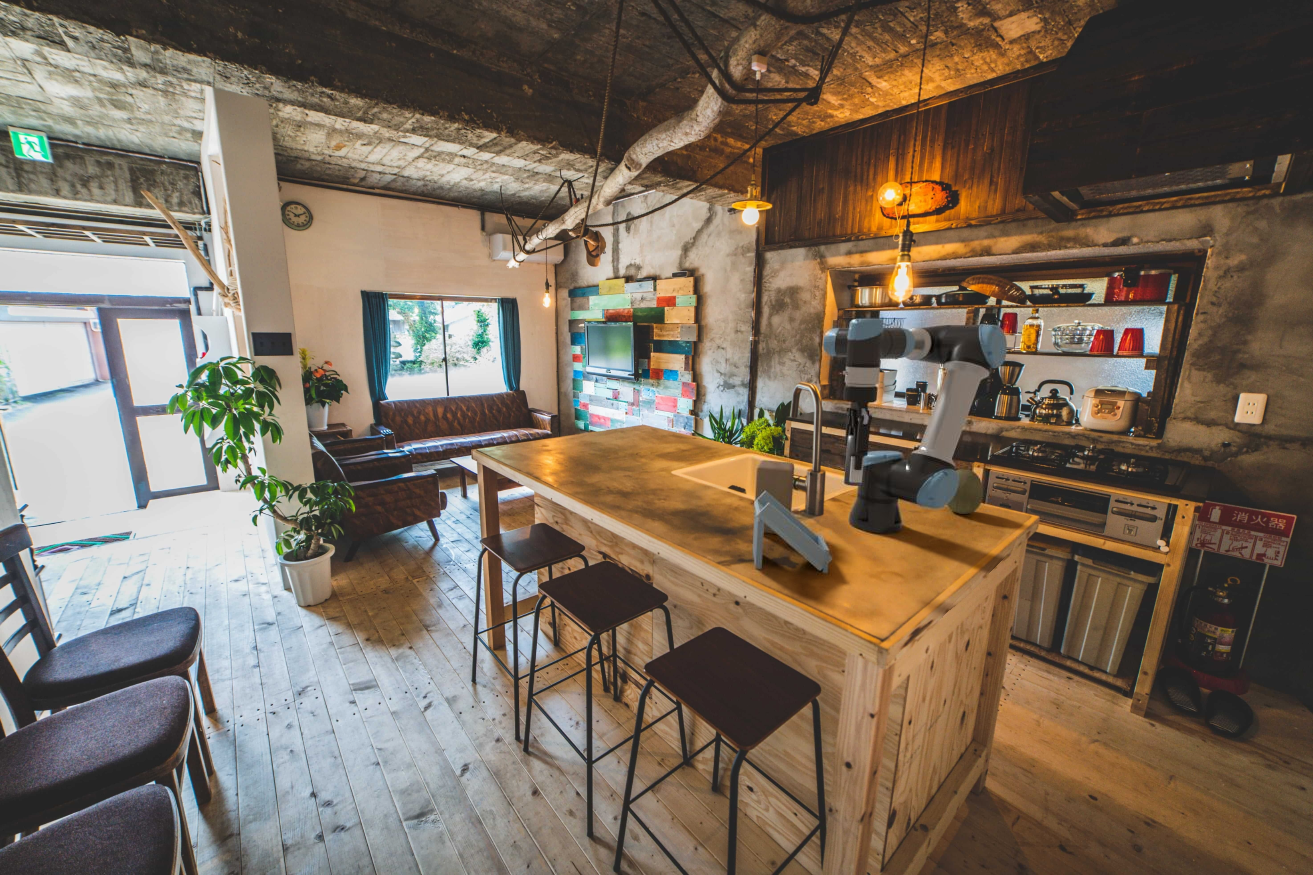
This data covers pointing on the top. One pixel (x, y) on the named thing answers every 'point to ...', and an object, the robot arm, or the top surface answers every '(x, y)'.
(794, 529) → the chute
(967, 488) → the fruit
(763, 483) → the wooden block
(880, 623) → the top surface
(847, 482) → the peg
